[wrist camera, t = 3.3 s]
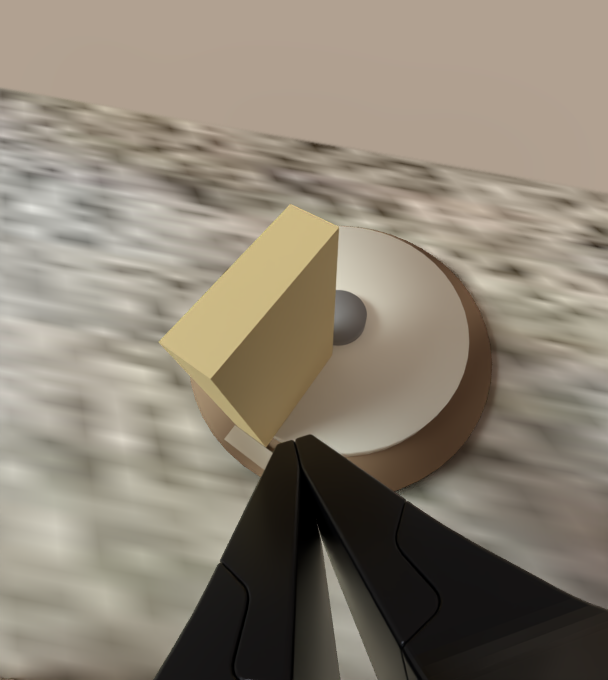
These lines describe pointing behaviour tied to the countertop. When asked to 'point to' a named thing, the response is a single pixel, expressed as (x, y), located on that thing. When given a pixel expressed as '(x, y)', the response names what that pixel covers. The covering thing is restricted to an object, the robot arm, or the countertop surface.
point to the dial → (326, 337)
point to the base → (415, 452)
